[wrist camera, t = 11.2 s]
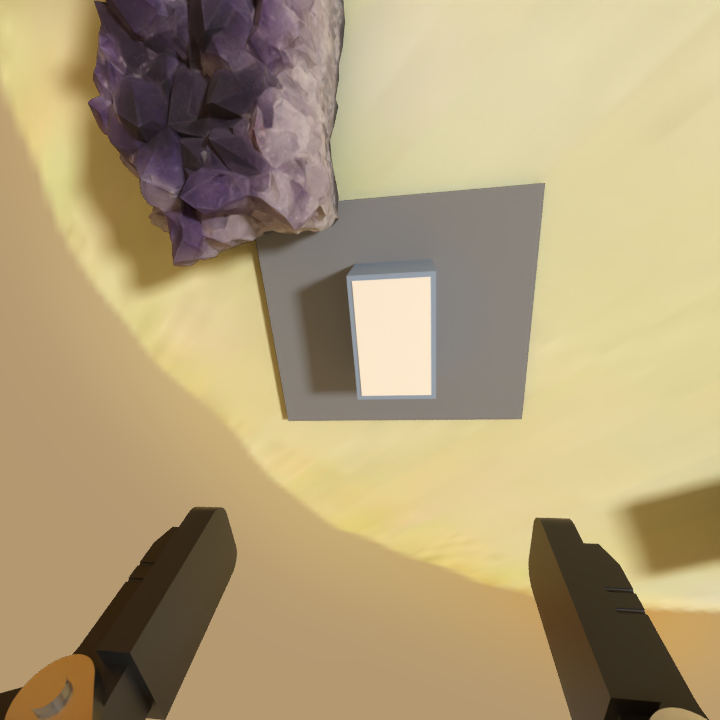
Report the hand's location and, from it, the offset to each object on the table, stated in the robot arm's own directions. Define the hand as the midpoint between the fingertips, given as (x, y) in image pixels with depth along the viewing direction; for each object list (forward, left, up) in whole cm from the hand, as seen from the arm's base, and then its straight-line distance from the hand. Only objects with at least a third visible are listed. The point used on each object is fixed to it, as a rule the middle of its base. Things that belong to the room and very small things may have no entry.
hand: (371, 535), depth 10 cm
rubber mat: (0, 0, -19) cm, 19 cm away
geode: (-15, -7, -19) cm, 25 cm away
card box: (0, 0, -18) cm, 18 cm away
